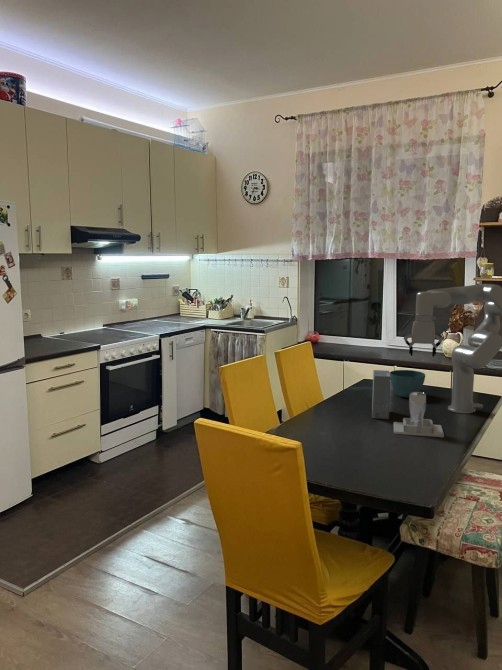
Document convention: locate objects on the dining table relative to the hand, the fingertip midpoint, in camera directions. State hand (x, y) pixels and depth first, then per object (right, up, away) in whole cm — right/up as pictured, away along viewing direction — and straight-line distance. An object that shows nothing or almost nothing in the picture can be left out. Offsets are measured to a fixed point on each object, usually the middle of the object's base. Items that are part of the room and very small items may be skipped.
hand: (422, 355), depth 256 cm
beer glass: (-8, -30, -18) cm, 36 cm away
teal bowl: (+4, -23, +41) cm, 47 cm away
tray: (-8, -31, -19) cm, 37 cm away
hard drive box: (-18, -28, +5) cm, 34 cm away
